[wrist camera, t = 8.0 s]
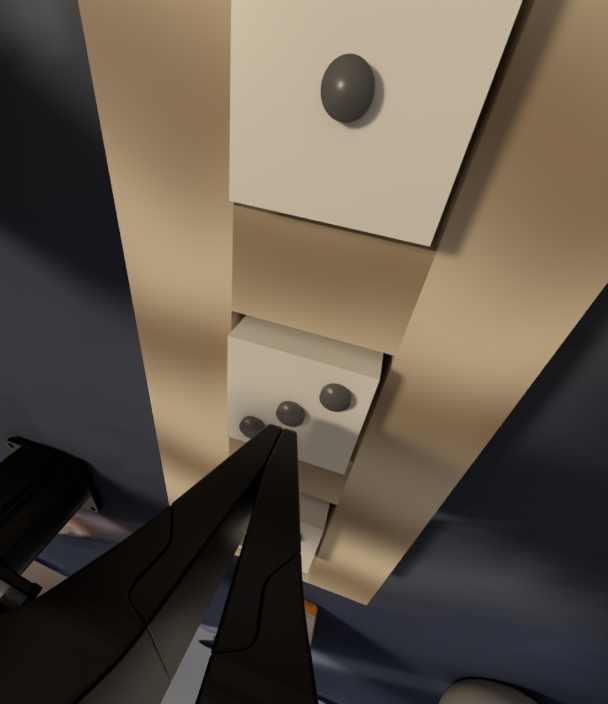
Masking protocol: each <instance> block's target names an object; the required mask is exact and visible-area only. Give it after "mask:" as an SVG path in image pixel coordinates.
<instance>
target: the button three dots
mask: <svg viewBox="0 0 608 704" xmlns="http://www.w3.org/2000/svg"><path fill="white" fill-rule="evenodd" d="M382 359H383V352H379V351H375V350H372V349H368V348H365V347H361V346H357V345H354V344H350V343H346V342H343V341H339V340H336V339H332V338H328V337H325V336H321V335H318V334H314V333H310V332H307V331H303V330H299V329H296V328H292V327H289V326H285V325H281V324H278V323H274V322H271V321H267V320H263V319H260V318H256V317H252V316H249V315H246V316H245V317H244V318H243V319H242V321H241V322H240V323H239V324H238V325H237V326H236V327H235V328H234V329H233V330H232V332H231V333H230V334H229V335H228V354H227V436H229V437H232V438H235V439H238V440H241V441H244V442H247V441H249V440H250V439H251V438H252V437H254V436H255V435H256V434H257V433H258V432H260V431H261V430H262V429H263V428H265V427H266V426H267V425H269V424H274V425H277V426H280V427H282V428H283V429H285V428H286V429H289V430H292V431H295V432H297V443H298V460H301V461H304V462H307V463H310V464H313V465H316V466H319V467H322V468H325V469H328V470H331V471H334V472H337V473H340V474H343V475H344V473H345V471H346V468H347V465H348V463H349V460H350V457H351V455H352V452H353V449H354V447H355V444H356V441H357V439H358V436H359V434H360V431H361V428H362V426H363V423H364V420H365V418H366V415H367V412H368V410H369V407H370V404H371V402H372V399H373V396H374V394H375V391H376V388H377V386H378V383H379V380H380V374H381V367H382Z"/></svg>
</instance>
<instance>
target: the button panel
mask: <svg viewBox="0 0 608 704" xmlns="http://www.w3.org/2000/svg"><path fill="white" fill-rule="evenodd" d="M78 3H79V9H80V14H81V20H82V25H83V31H84V36H85V42H86V47H87V53H88V58H89V64H90V69H91V75H92V80H93V86H94V91H95V97H96V103H97V108H98V114H99V119H100V125H101V130H102V136H103V141H104V147H105V152H106V158H107V163H108V169H109V174H110V180H111V185H112V191H113V196H114V202H115V207H116V213H117V218H118V224H119V229H120V235H121V240H122V246H123V252H124V257H125V263H126V268H127V274H128V279H129V285H130V290H131V296H132V301H133V307H134V312H135V318H136V323H137V329H138V334H139V340H140V345H141V351H142V356H143V362H144V367H145V373H146V378H147V384H148V389H149V395H150V400H151V406H152V412H153V417H154V423H155V428H156V434H157V439H158V445H159V450H160V456H161V461H162V467H163V472H164V478H165V483H166V489H167V494H168V500H169V505H170V506H171V504H172V503H173V502H174V501H175V500H176V499H177V498H179V497H180V496H181V495H182V494H184V493H185V492H186V491H187V490H189V489H190V488H191V487H192V486H193V485H195V484H196V483H197V482H198V481H200V480H201V479H202V478H203V477H204V476H206V475H207V474H208V473H209V472H211V471H212V470H213V469H214V468H216V467H217V466H218V465H219V464H220V463H222V462H223V461H224V460H225V459H227V458H228V457H229V456H230V455H231V454H233V453H234V452H235V451H236V450H238V449H239V448H240V447H241V446H243V445H244V444H245V443H246V442H244V441H241V440H238V439H235V438H232V437H229V436H227V354H228V335H229V334H230V333H231V332H232V330H233V329H234V328H235V327H236V326H237V325H238V324H239V323H240V322H241V321H242V319H243V318H244V317H245V316H246V315H249V316H252V317H256V318H260V319H263V320H267V321H271V322H274V323H278V324H281V325H285V326H289V327H292V328H296V329H299V330H303V331H307V332H310V333H314V334H318V335H321V336H325V337H328V338H332V339H336V340H339V341H343V342H346V343H350V344H354V345H357V346H361V347H365V348H368V349H372V350H375V351H379V352H383V353H385V355H384V358H383V361H382V367H381V374H380V380H379V383H378V386H377V388H376V391H375V394H374V396H373V399H372V402H371V404H370V407H369V410H368V412H367V415H366V418H365V420H364V423H363V426H362V428H361V431H360V434H359V436H358V439H357V441H356V444H355V447H354V449H353V452H352V455H351V457H350V460H349V463H348V465H347V468H346V471H345V473H344V475H343V474H340V473H337V472H334V471H331V470H328V469H325V468H322V467H319V466H316V465H313V464H310V463H307V462H304V461H301V460H298V472H299V492H301V493H304V494H307V495H309V496H312V497H315V498H318V499H321V500H324V501H327V502H330V505H329V509H328V514H327V518H326V523H325V527H324V531H323V534H322V536H321V539H320V542H319V544H318V547H317V550H316V552H315V555H314V558H313V560H312V563H311V565H310V568H309V571H308V573H304V572H302V580H303V581H305V582H307V583H310V584H312V585H315V586H318V587H320V588H323V589H326V590H328V591H331V592H333V593H336V594H339V595H341V596H344V597H346V598H349V599H352V600H354V601H357V602H359V603H362V604H365V605H367V604H368V602H369V601H370V600H371V598H372V597H373V596H374V594H375V593H376V592H377V590H378V589H379V588H380V586H381V585H382V584H383V582H384V581H385V580H386V578H387V577H388V576H389V574H390V573H391V572H392V570H393V569H394V568H395V566H396V565H397V564H398V562H399V561H400V560H401V558H402V557H403V556H404V554H405V553H406V552H407V550H408V549H409V548H410V546H411V545H412V544H413V542H414V541H415V540H416V538H417V537H418V536H419V534H420V533H421V532H422V530H423V529H424V528H425V526H426V525H427V524H428V522H429V521H430V519H431V518H432V517H433V515H434V514H435V513H436V511H437V510H438V509H439V507H440V506H441V505H442V503H443V502H444V501H445V499H446V498H447V497H448V495H449V494H450V493H451V491H452V490H453V489H454V487H455V486H456V485H457V483H458V482H459V481H460V479H461V478H462V477H463V475H464V474H465V473H466V471H467V470H468V469H469V467H470V466H471V465H472V463H473V462H474V461H475V459H476V458H477V457H478V455H479V454H480V453H481V451H482V450H483V449H484V447H485V446H486V445H487V443H488V442H489V441H490V439H491V438H492V437H493V435H494V434H495V432H496V431H497V430H498V428H499V427H500V426H501V424H502V423H503V422H504V420H505V419H506V418H507V416H508V415H509V414H510V412H511V411H512V410H513V408H514V407H515V406H516V404H517V403H518V402H519V400H520V399H521V398H522V396H523V395H524V394H525V392H526V391H527V390H528V388H529V387H530V386H531V384H532V383H533V382H534V380H535V379H536V378H537V376H538V375H539V374H540V372H541V371H542V370H543V368H544V367H545V366H546V364H547V363H548V362H549V360H550V359H551V358H552V356H553V355H554V354H555V352H556V351H557V350H558V348H559V347H560V345H561V344H562V343H563V341H564V340H565V339H566V337H567V336H568V335H569V333H570V332H571V331H572V329H573V328H574V327H575V325H576V324H577V323H578V321H579V320H580V319H581V317H582V316H583V315H584V313H585V312H586V311H587V309H588V308H589V307H590V305H591V304H592V303H593V301H594V300H595V299H596V297H597V296H598V295H599V293H600V292H601V291H602V289H603V288H604V287H605V285H606V284H607V283H608V0H522V3H521V6H520V8H519V11H518V14H517V16H516V19H515V22H514V24H513V27H512V30H511V32H510V35H509V37H508V40H507V43H506V45H505V48H504V51H503V53H502V56H501V59H500V61H499V64H498V67H497V69H496V72H495V75H494V77H493V80H492V83H491V85H490V88H489V91H488V93H487V96H486V99H485V101H484V104H483V107H482V109H481V112H480V115H479V117H478V120H477V123H476V125H475V128H474V131H473V133H472V136H471V139H470V141H469V144H468V146H467V149H466V152H465V154H464V157H463V160H462V162H461V165H460V168H459V170H458V173H457V176H456V178H455V181H454V184H453V186H452V189H451V192H450V194H449V197H448V200H447V202H446V205H445V208H444V210H443V213H442V216H441V218H440V221H439V224H438V226H437V229H436V232H435V234H434V237H433V240H432V242H431V245H430V246H425V245H421V244H416V243H412V242H408V241H403V240H399V239H395V238H390V237H386V236H381V235H377V234H373V233H368V232H364V231H360V230H355V229H351V228H346V227H342V226H338V225H333V224H329V223H324V222H320V221H316V220H311V219H307V218H303V217H298V216H294V215H289V214H285V213H281V212H276V211H272V210H267V209H263V208H259V207H254V206H250V205H246V204H241V203H237V202H232V201H229V157H230V65H231V0H78ZM240 551H241V548H238V549H237V551H236V553H235V555H237V556H239V555H240Z"/></svg>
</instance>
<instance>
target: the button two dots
mask: <svg viewBox="0 0 608 704" xmlns="http://www.w3.org/2000/svg"><path fill="white" fill-rule="evenodd" d="M299 502H300V532H301V553H300V554H301V557H302V572H304V573H308V571H309V568H310V565H311V563H312V560H313V558H314V555H315V552H316V550H317V547H318V544H319V542H320V539H321V536H322V534H323V531H324V527H325V523H326V518H327V514H328V509H329V505H330V502H327V501H324V500H321V499H318V498H315V497H312V496H309V495H307V494H304V493H301V492H299ZM245 534H246V533H245ZM244 537H245V535H244ZM244 537H243V539H242V541H241V543H240V545H239V547H238V548H242V544H243V541H244Z"/></svg>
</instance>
